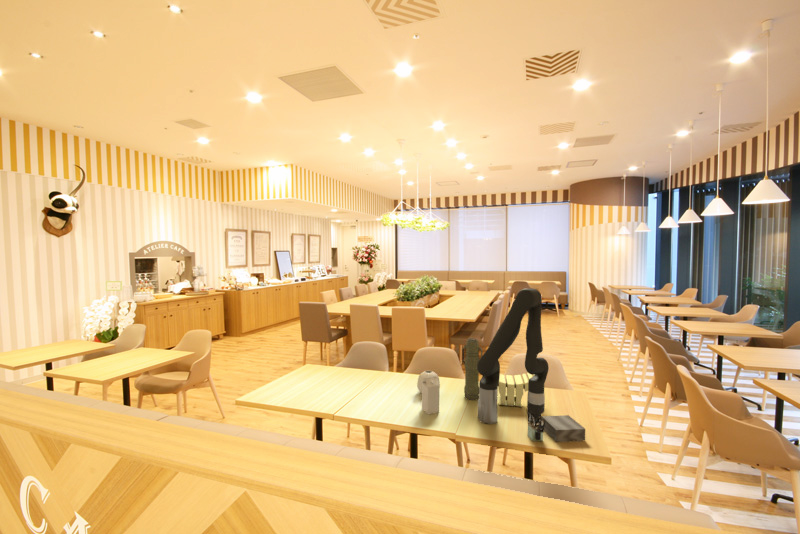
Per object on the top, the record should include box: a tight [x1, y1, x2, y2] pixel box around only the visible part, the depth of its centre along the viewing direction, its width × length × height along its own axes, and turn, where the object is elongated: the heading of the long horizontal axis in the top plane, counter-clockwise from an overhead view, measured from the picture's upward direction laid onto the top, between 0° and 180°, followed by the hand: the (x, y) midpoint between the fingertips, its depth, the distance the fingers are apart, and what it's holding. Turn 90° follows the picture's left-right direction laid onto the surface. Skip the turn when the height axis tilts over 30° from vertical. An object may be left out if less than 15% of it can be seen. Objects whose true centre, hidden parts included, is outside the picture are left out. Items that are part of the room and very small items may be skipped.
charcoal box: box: [541, 414, 586, 443], centre depth 174 cm, size 14×14×6 cm
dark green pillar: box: [461, 338, 483, 401], centre depth 218 cm, size 9×12×35 cm
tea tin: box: [527, 421, 544, 442], centre depth 170 cm, size 5×5×6 cm
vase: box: [416, 369, 441, 394], centre depth 224 cm, size 14×14×13 cm
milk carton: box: [421, 376, 440, 415], centre depth 199 cm, size 7×7×19 cm
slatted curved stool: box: [497, 372, 535, 408], centre depth 211 cm, size 30×16×18 cm, turn 78°
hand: (535, 436), depth 170 cm, fingers closed on tea tin, 5 cm apart
